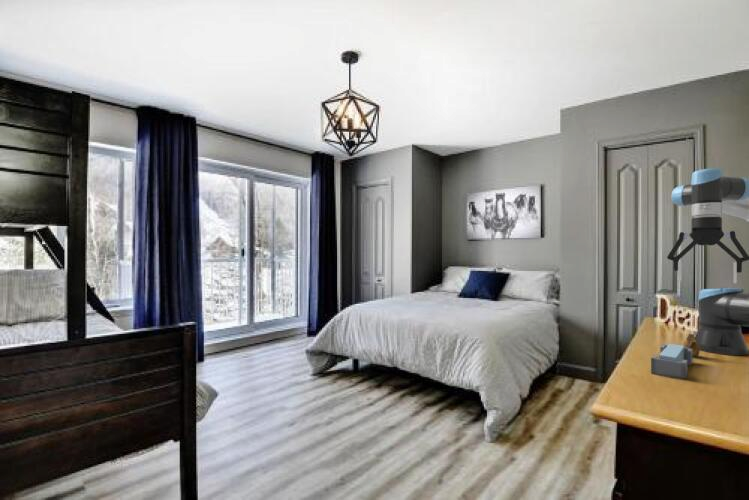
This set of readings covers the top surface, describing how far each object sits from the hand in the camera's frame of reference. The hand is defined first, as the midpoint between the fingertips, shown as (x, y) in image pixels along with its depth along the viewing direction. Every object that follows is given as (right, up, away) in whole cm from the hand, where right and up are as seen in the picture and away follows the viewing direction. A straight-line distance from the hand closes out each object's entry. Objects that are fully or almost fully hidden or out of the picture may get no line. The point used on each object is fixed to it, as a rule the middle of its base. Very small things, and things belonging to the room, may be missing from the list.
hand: (706, 282), depth 125 cm
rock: (+3, -27, +10) cm, 29 cm away
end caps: (-15, -27, -5) cm, 31 cm away
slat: (-15, -26, -5) cm, 30 cm away
